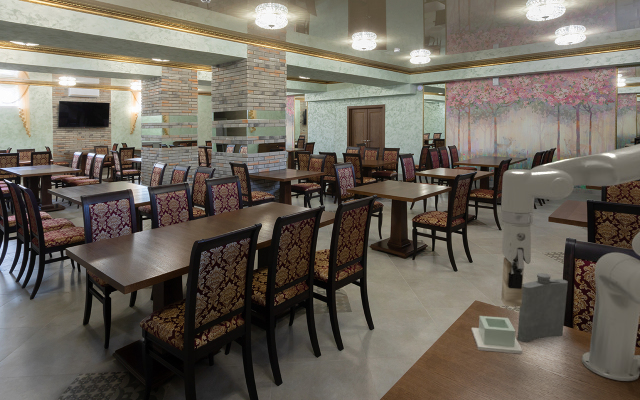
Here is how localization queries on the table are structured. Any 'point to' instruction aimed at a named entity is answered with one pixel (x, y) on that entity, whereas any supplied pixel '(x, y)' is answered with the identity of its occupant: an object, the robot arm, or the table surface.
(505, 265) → the beech peg
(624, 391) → the table surface
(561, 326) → the hip flask
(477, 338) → the socket holder
